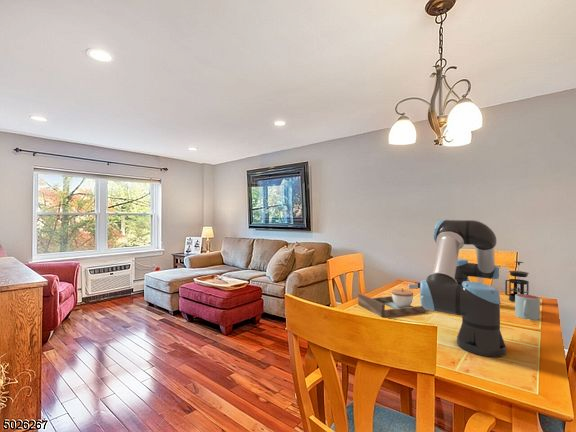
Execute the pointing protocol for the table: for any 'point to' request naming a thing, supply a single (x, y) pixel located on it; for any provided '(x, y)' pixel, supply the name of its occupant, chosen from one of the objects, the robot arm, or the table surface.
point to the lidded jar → (402, 298)
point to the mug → (527, 306)
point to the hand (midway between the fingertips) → (416, 289)
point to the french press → (521, 282)
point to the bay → (379, 305)
